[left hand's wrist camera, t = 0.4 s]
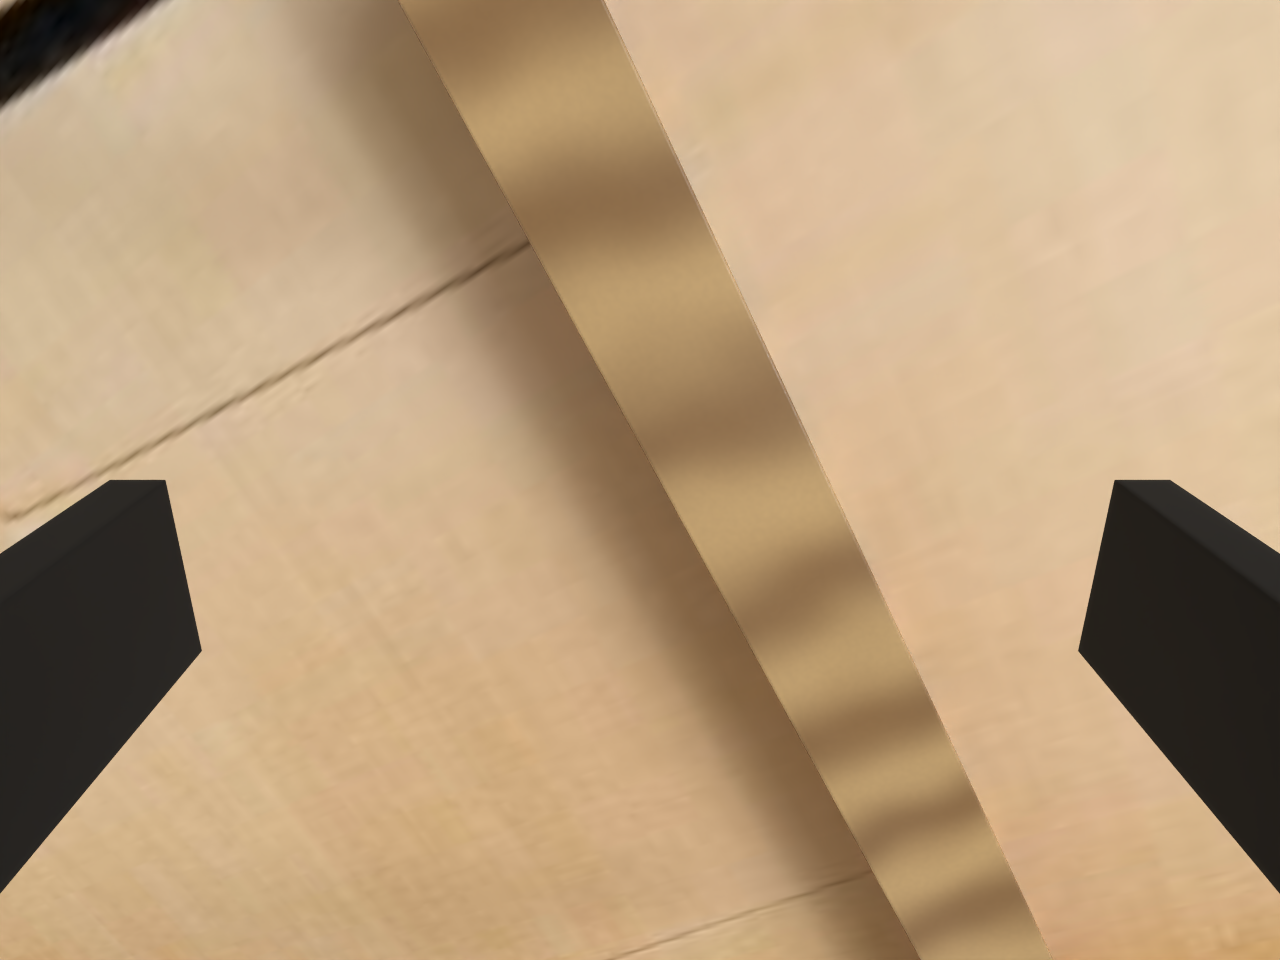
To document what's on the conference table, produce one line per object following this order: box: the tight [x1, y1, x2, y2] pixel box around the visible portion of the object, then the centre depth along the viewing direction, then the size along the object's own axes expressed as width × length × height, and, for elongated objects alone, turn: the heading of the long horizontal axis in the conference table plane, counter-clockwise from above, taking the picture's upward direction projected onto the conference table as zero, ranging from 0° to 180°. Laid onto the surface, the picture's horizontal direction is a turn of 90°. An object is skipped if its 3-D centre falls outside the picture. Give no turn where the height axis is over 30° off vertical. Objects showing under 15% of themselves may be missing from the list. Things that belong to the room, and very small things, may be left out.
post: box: [398, 0, 1053, 960], centre depth 37 cm, size 61×5×8 cm, turn 27°
